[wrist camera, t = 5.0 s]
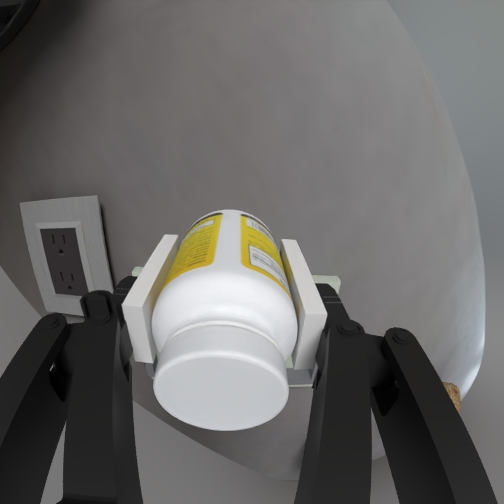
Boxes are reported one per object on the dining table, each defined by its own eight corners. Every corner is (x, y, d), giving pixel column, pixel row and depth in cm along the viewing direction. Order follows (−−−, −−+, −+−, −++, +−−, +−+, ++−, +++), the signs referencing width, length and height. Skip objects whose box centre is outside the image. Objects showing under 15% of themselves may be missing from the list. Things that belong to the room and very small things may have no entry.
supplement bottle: (181, 289, 17) (140, 429, 8) (184, 202, 15) (112, 313, 6) (269, 298, 18) (290, 442, 9) (285, 213, 15) (339, 336, 7)
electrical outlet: (125, 309, 30) (118, 321, 27) (54, 302, 29) (45, 312, 27) (106, 191, 25) (95, 196, 22) (30, 198, 24) (17, 204, 22)
